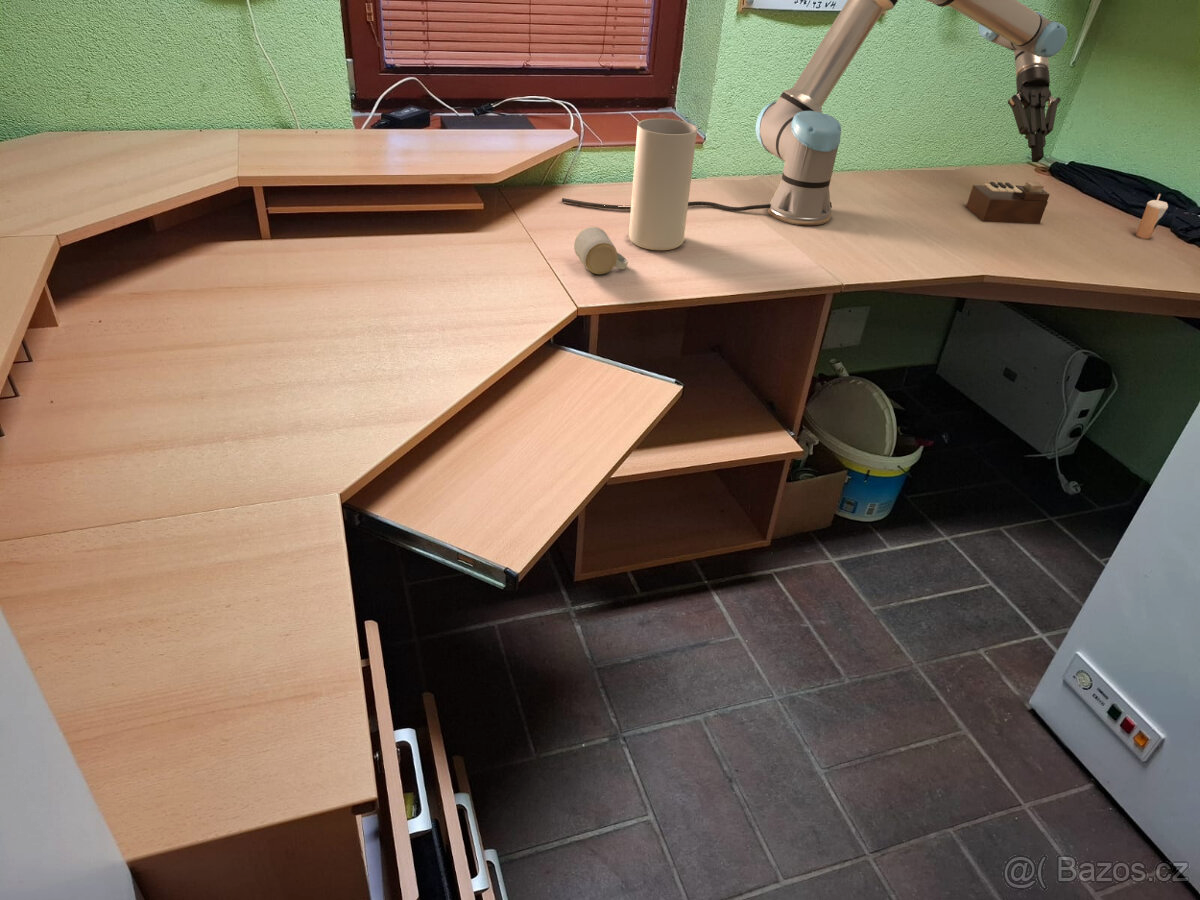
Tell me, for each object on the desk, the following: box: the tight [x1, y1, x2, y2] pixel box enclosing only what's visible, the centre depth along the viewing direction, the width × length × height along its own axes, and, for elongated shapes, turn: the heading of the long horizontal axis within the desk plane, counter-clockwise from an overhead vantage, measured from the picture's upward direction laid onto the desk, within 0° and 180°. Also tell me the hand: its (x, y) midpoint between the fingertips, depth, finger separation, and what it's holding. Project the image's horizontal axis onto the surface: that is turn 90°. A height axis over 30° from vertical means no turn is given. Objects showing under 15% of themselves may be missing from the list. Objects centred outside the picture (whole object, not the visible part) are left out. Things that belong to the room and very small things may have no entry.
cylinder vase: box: [628, 118, 698, 251], centre depth 177 cm, size 12×12×25 cm
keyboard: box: [983, 181, 1022, 193], centre depth 206 cm, size 8×5×1 cm
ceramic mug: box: [573, 226, 629, 275], centre depth 168 cm, size 11×8×8 cm
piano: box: [965, 184, 1051, 225], centre depth 210 cm, size 15×11×8 cm
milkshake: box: [1135, 193, 1169, 240], centre depth 203 cm, size 5×5×10 cm
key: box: [1023, 181, 1045, 193], centre depth 206 cm, size 3×3×2 cm
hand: (1037, 159), depth 205 cm, fingers closed
